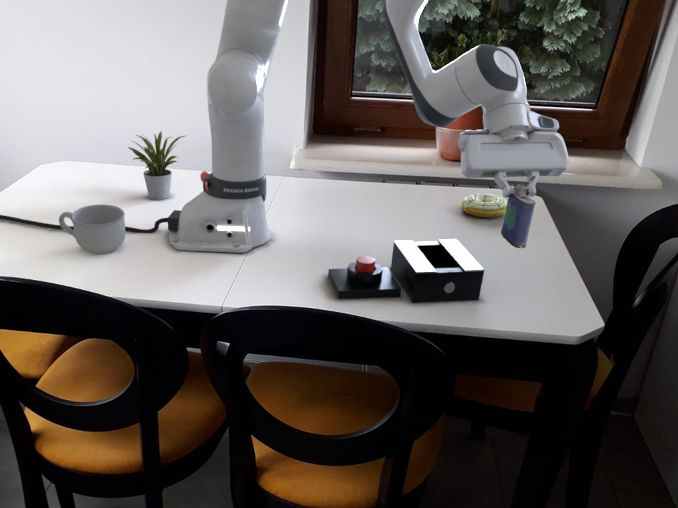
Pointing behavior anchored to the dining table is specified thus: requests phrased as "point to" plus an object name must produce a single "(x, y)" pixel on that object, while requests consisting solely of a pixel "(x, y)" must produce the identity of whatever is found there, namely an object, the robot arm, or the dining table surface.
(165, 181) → the house plant
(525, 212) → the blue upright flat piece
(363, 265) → the stop button
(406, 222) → the dining table surface
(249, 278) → the dining table surface
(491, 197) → the decorated donut
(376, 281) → the control block
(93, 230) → the teacup
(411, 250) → the glossy black box
